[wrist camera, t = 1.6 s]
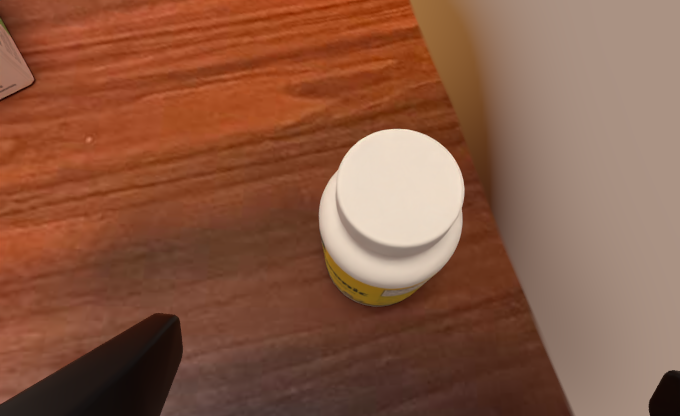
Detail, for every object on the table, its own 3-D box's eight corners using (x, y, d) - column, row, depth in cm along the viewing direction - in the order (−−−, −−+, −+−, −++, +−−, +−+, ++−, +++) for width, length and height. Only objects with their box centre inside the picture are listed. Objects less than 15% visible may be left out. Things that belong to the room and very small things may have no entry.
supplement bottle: (309, 230, 22) (288, 139, 13) (399, 195, 23) (440, 85, 14) (347, 326, 21) (354, 298, 11) (444, 285, 21) (524, 228, 12)
